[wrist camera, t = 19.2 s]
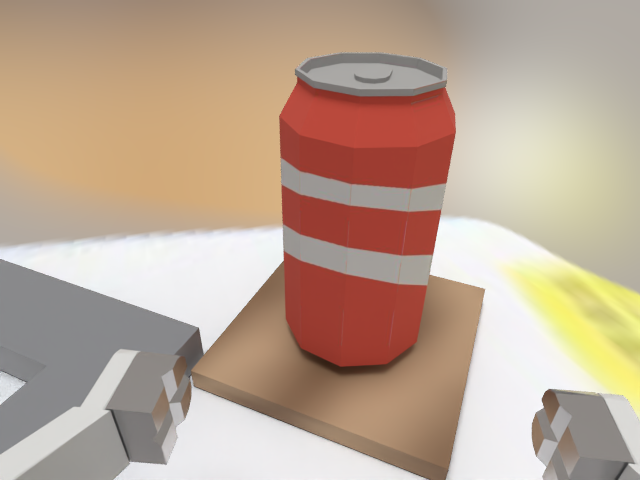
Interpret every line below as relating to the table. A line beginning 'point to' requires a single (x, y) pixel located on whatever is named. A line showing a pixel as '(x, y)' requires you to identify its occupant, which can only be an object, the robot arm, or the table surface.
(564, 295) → the table surface
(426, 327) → the coaster pad
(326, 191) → the beverage can
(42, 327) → the dock
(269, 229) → the table surface
